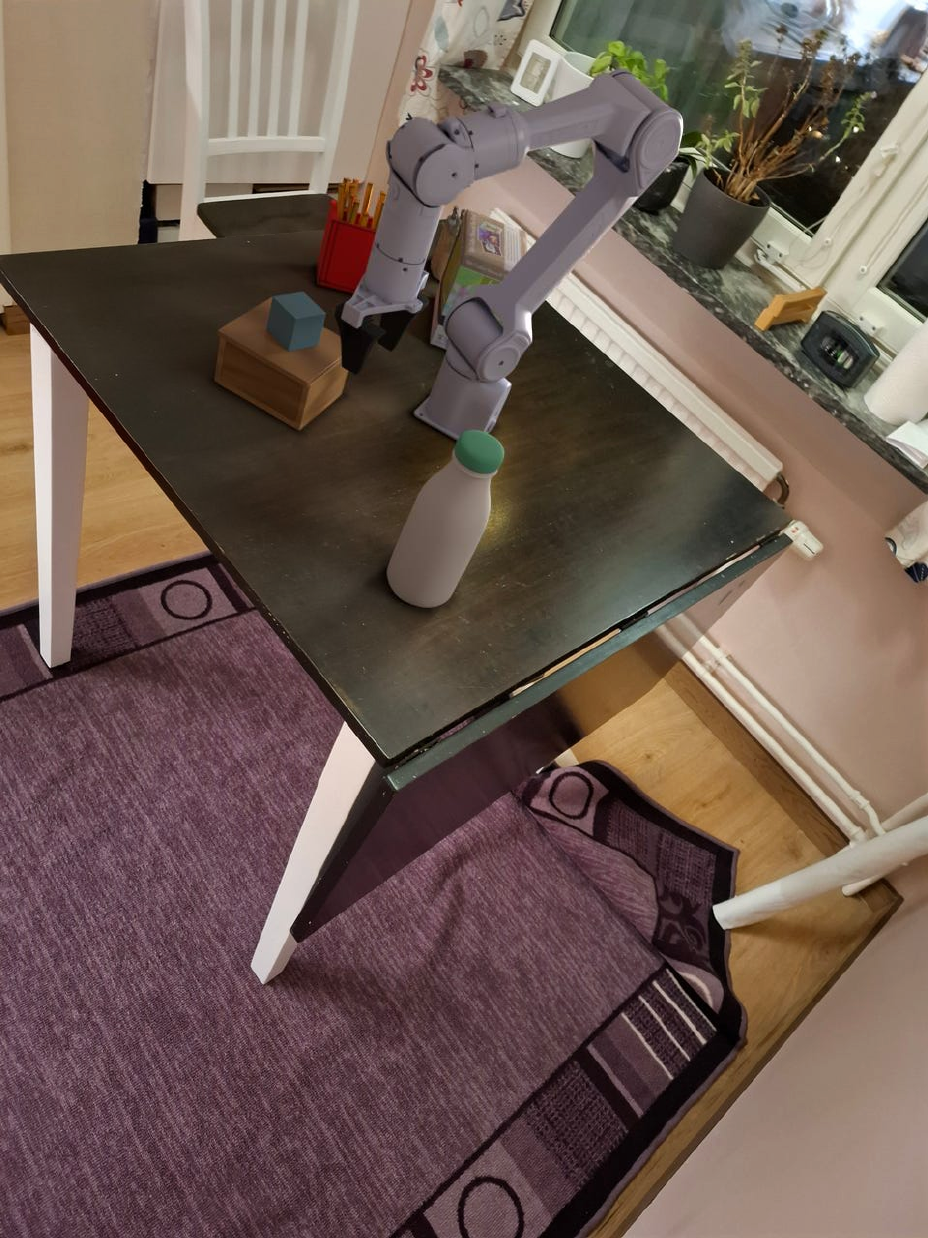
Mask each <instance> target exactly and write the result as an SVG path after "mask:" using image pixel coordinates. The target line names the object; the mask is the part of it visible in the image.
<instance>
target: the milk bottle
mask: <svg viewBox="0 0 928 1238" xmlns="http://www.w3.org/2000/svg"><path fill="white" fill-rule="evenodd" d="M504 459H505V448H504V447H503V445H502V443H501V442H500V441H499V440H498V439H497V438H496V437H494V436H493V435H491V434H489V433H485V432H482V431H478V430H469V431H465V432H464V433H462V434H461V435H460V437H459V439H458V440H457V441H456V443H455V446H454V448H453V450H452V452H451V460H450V461H449V462H448V463H447V464H446V465H445V466H444V467H443V468H442V469H440V470H439V471H438V472H436V473H435V474H433V475H432V476H431V477H430V478H429V479H428V480H427V481H426V482H425V483H424V484H423V486H422V488H421V489H420V491H419V492H418V494H417V496H416V499H415V501H414V503H413V505H412V506H411V508H410V511H409V514H408V515H407V518H406V521H405V523H404V526H403V528H402V530H401V532H400V535H399V538H398V540H397V543H396V545H395V547H394V549H393V552H392V555H391V556H390V560H389V562H388V566H387V569H386V577H387V581H388V585H389V586H390V589H391V590H392V591H393V592H394V594H395V595H396V596H397V597H398V598H400V599H401V600H402V601H404V602H406V603H408V604H409V605H412V606H415V607H417V608H425V609H426V608H429V609H432V608H437V607H438V606H441V605H443V604H445V603H446V602H448V601H449V600H450V598H451V597H452V596H453V593H454V592H455V590H456V588H457V586H458V584H459V583H460V581H461V579H462V576H463V574H464V573H465V571H466V569H467V567H468V565H469V563H470V561H471V559H472V558H473V555H474V553H475V552H476V549H477V547H478V545H479V543H480V541H481V539H482V538H483V535H484V533H485V530H486V528H487V526H488V522H489V521H490V516H491V508H492V507H491V506H492V501H491V500H492V499H491V498H492V497H491V482H492V477H494V476H496V475H497V473H498V470H499V468H500V467H501V465H502V463H503V461H504Z"/></svg>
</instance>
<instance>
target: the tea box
mask: <svg viewBox="0 0 928 1238" xmlns="http://www.w3.org/2000/svg"><path fill="white" fill-rule="evenodd" d="M465 210H466V212H465V215H464V217H463V220H462V222H461V225H460V228H459V231H458V234H457V237H456V239H455V242H454V245H453V248H452V250H451V253H450V256H449V258H448V261H447V264H446V267H445V270H444V273H443V275H442V278H441V281H440V280H439V284H438V287H437V290H436V292H435V299H434V300H435V301H434V307H433V316H432V323H431V332H430V344H431V345H433V346H436V347H438V348H441V349H442V350H446V351H447V348H446V347H445V344H446V341H447V339H448V337H447V336H446V334H445V332H444V328H443V324H444V319H445V317H446V315H447V313H448V311H449V310H450V309H451V308H452V306H453V305H455V304H456V303H457V302H458V301H460V300H462V299H464V298H465V297H467V296H468V295H469V294H470V293H471V292H472V291H473V290H474V289H475V288H476V287H477V286H478V285H485V284H499V283H500V282H501V281H502V280H503V279H504V278H505V277H506V275H507V274H508V273H509V272H510V271H511V270H512V269H513V267H514V266H515V265H516V264H517V263H518V262H519V261H520V259H521V258H522V257H523V256H524V255H525V254H526V253H527V251H528V240H527V231H524V230H522V229H521V228H517V227H515V226H512V225H510V224H507V223H504V222H502V221H500V220H497V219H494V218H492V217H489V216H487V215H484V214H483V213H479V212H477V211H473V210H471V209H469V208H467V209H465ZM492 314H493V315H494V316H495V317H496V318H497V320H498V321H499V322H500V323H501V324H502V322H501V320H500V319H499V318H498V317H497V316H496V314H495V313H494V312H492ZM502 326H503V324H502Z"/></svg>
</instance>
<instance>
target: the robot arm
mask: <svg viewBox="0 0 928 1238" xmlns="http://www.w3.org/2000/svg"><path fill="white" fill-rule="evenodd" d="M486 107H487V108H484V109H481V110H478V111H477V110H476V111H474V112H469V113H466V114H463V115H459V116H454V115H449V116H447V117H444V119H443V120H441V121H439V122H434V121H433V120H432V119H430V120H429V119H428V118H427V117H417V118H413V119H410V120H407V121H406V122H404V123H403V124H401V125H400V126H399V128H398V129H396V131H395V133H394V134H393V137H392V139H389V140H387V141H386V144H385V159H386V162H387V164H388V167H389V174H388V178H387V182H386V184H387V185H388V187H387V190H386V197H385V200H384V206H383V209H382V213H381V217H380V221H379V224H378V228H377V232H376V235H375V239H374V243H373V247H372V251H371V254H370V258H369V262H368V265H367V269H366V273H365V274H364V275H363V277H362V279H361V281H360V282H359V284H358V286H357V288H356V290H355V292H354V294H352V296H351V298H349V299H348V300H347V301H346V300H345V301H342V302H341V303H339V304H337V305H336V306H335V309H334V313H333V316H334V318H335V322H336V324H337V327H338V331H339V336H340V337H341V360H342V367H343V368H345V369H346V370H348V373H350V374H352V375H353V376H358V375H359V374H360V373H361V372H362V370H363V369H364V367H365V365H366V362H367V360H368V359H369V356H370V354H371V351H372V349H373V348H374V346H375V345H376V344H377V345H379V346H380V347H382V348H383V349H384V350H387V351H388V352H389V353H392V352H393V351H395V349H396V348H397V347H398V345H399V343H400V342H401V340H402V339H403V337H404V335H405V333H406V332H407V330H408V329H409V327H410V326H411V324H412V323H413V322H414V321H415V320H416V318H417V317H418V316H419V315H420V314H421V313H422V312H423V311H424V310H425V309H426V308H427V307H428V306H429V303H430V300H429V299H428V297H427V296H425V295H424V294H423V293H421V292H420V291H422V290H424V289H425V287H426V284H427V281H428V278H429V275H430V273H429V272H427V271H426V270H424V269H425V266H426V263H427V259H428V256H429V253H430V251H431V247H432V244H433V242H434V238H435V235H436V232H437V229H438V225H439V222H440V219H441V217H442V213H443V210H444V207H445V206H447V205H449V204H451V203H452V202H454V201H455V200H456V199H457V198H458V197H459V196H460V194H461V193H462V192H463V191H464V190H465V189H467V188H470V187H471V185H472V184H474V183H475V182H477V181H480V180H482V179H486V178H488V177H489V178H490V177H492V176H496V175H499V174H503V173H506V172H509V171H513V170H516V169H517V168H519V167H520V166H521V165H522V163H523V162H524V160H525V157H526V156H527V154H528V152H534V151H538V150H543V149H547V148H548V149H549V148H552V147H557V146H562V145H567V144H571V143H576V142H581V141H586V140H590V144H591V149H592V155H593V158H594V163H593V175H592V177H591V178H590V179H589V181H587V183H586V184H585V185H584V186H583V187H582V188H581V189H580V191H579V192H578V193H577V194H576V195H575V197H574V198H573V199H572V200H571V201H570V202H569V204H567V206H566V207H565V208H564V209H563V210H562V211H561V213H559V214H558V216H557V217H556V218H555V219H554V220H553V222H551V224H550V225H549V226H548V227H547V228H546V230H545V231H544V232H543V233H542V234H541V235H540V236H539V237H538V238H537V239H536V241H535V242H534V243H533V245H532V246H530V247H529V249H527V253H526V254H525V255H524V256H523V257H522V258H521V259H520V261H519V262H518V263H517V264H516V265H515V266H514V267H513V269H512V270H511V271H510V272H509V273H508V274H507V275H506V277H505V278H504V279H503V280H502V281H501V282H500V283H499V284H485V285H478V286H477V287H476V288H475V289H474V290H473V291H472V292H471V293H470V294H469V295H468V296H467V297H465V298H464V299H462V300H460V301H458V302H457V303H456V304H455V305H453V306H452V308H451V309H450V310H449V311H448V313H447V315H446V317H445V319H444V324H443V328H444V332H445V334H446V336H447V337H448V339H447V341H446V344H445V347H446V348H447V350H446V352H445V354H444V356H443V359H442V362H441V365H440V367H439V370H438V372H437V375H436V378H435V379H434V383H433V386H432V388H431V391H430V393H429V396H428V397H427V398H426V399H425V400H424V401H423V402H422V403H421V404H420V405H419V406H418V407H417V408H416V409H415V410H414V412H413V416H414V417H416V418H417V419H419V420H420V421H422V422H424V423H426V424H427V425H429V426H431V427H433V428H434V429H436V430H437V431H439V432H441V433H443V434H444V435H446V436H447V437H449V438H451V439H453V440H454V441H456V442H457V440H458V439H459V437H460V435H461V434H462V433H464V432H465V431H469V430H478V431H482V432H485V433H488V434H489V433H491V432H492V430H493V428H494V427H495V425H496V423H497V420H498V418H499V415H500V413H501V411H502V409H503V408H504V407H503V406H504V405H505V403H506V401H507V398H508V396H509V394H510V391H511V388H512V383H511V382H510V381H508V379H506V378H507V377H508V376H509V375H510V374H511V373H512V372H513V371H514V370H515V369H516V367H517V366H518V364H519V362H520V360H521V358H522V355H523V354H524V353H525V351H526V350H527V349H528V347H529V346H531V344H532V343H533V330H532V315H533V314H534V313H535V312H536V311H537V310H538V309H539V308H540V306H542V304H544V302H545V301H546V300H548V298H549V297H550V296H551V295H552V293H554V291H555V290H556V289H557V288H558V287H559V286H560V285H561V284H562V283H563V281H564V280H565V279H566V278H567V277H568V276H569V275H570V274H571V273H572V271H574V270H575V268H576V267H577V266H578V265H579V264H580V263H581V262H582V260H583V259H584V258H586V256H587V255H588V254H589V253H590V252H591V250H593V248H595V246H596V245H597V244H598V243H599V242H600V241H601V239H603V237H604V236H605V235H606V234H607V233H608V232H609V231H611V229H612V228H613V226H614V225H615V224H616V223H617V222H618V221H619V220H620V219H621V218H622V216H623V215H624V214H625V213H626V212H627V211H628V210H629V209H630V208H631V207H632V206H633V205H634V203H636V201H637V200H638V199H639V198H640V197H641V196H642V195H643V194H644V193H645V192H646V190H647V189H649V187H650V186H651V185H652V184H653V183H654V182H655V181H656V180H657V179H658V178H659V176H660V175H661V174H662V173H663V172H664V171H665V170H666V169H667V168H668V167H669V165H670V164H672V162H673V161H674V160H675V159H676V158H677V157H678V155H679V152H680V146H681V142H682V138H683V137H682V136H683V132H684V120H683V116H682V115H681V114H680V112H679V111H678V110H677V109H675V108H673V107H670V106H669V105H668V104H667V103H666V102H664V101H663V100H662V99H661V98H660V97H659V96H658V95H656V94H655V93H654V92H653V91H651V90H650V89H649V88H648V87H647V86H646V85H644V84H643V83H642V82H641V81H639V80H638V79H637V77H636V76H635V75H634V73H633V72H632V71H630V70H629V69H626V68H617V69H614V70H612V71H610V72H603V73H598V74H597V75H595V76H594V78H593V80H592V81H591V82H590V84H589V85H588V86H587V87H585V88H583V89H580V90H578V91H575V92H572V93H569V94H566V95H564V96H561V97H559V98H556V99H553V100H551V101H548V102H545V103H543V104H540V105H538V106H535V107H533V108H530V109H527V110H524V111H522V112H518V111H517V110H516V109H515V108H514V107H512V106H511V105H510V104H507V103H501V102H500V101H499V100H495V101H491V102H488V103H487V106H486ZM492 312H494V313H495V314H496V316H497V317H498V318H499V319H500V320H501V322H502V324H503V326H502V324H501V323H500V322H499V321H498V320H497V318H496V317H495V316H494V315H493V314H492ZM379 314H380V320H379V324H378V325H377V324H376V323H375V319H374V318H373V317H374V315H379Z"/></svg>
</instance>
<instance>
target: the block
mask: <svg viewBox="0 0 928 1238" xmlns="http://www.w3.org/2000/svg"><path fill="white" fill-rule="evenodd" d="M271 297H272V302H271V308H270V313H269V318H268V324H267V330H268V331H269V332H270V333H271V334H272V335H273V336H274V337H275V338H276V339H277V340H278V341H279V342H280V344H281V345H282V346H283V347H284V348H285V349H286V350H287V351H288V352H289V351H294V350H299V349H303V348H308V347H313V346H318V344H319V339H320V335H321V331H322V327H324V322H325V318H326V314H327V313H326V312H325V311H324V310H323V309H322V308H321V307H320V306H319V305H318V304H316V303H315V301H314V300H312V298H311V297H310V296H308V295H307V294H306V293H305V292H304V291H297V292H292V293H285V294H277V295H273V296H271Z"/></svg>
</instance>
